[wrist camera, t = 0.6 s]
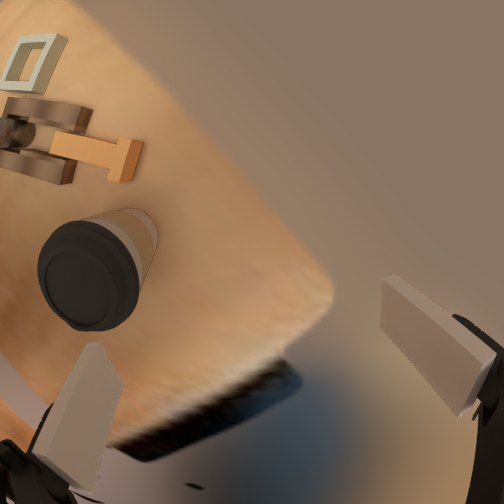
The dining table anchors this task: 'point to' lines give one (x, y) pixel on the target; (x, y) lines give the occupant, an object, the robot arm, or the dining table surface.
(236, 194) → the dining table surface
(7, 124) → the dark grey cylinder
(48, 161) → the socket block
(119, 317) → the coffee cup
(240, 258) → the dining table surface
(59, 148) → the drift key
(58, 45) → the square frame
